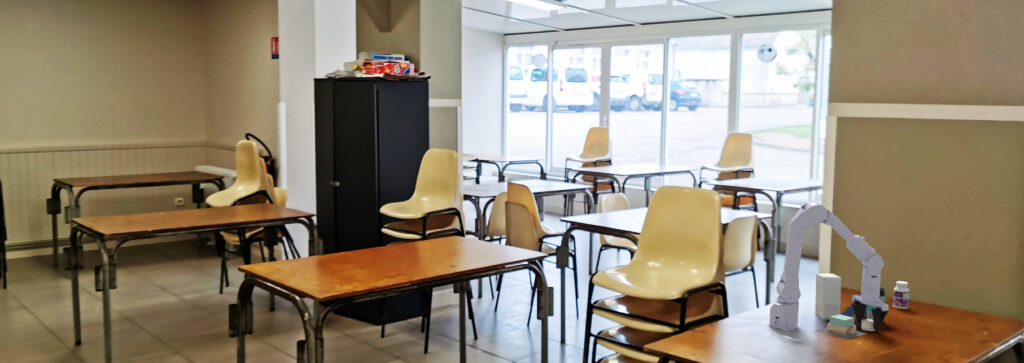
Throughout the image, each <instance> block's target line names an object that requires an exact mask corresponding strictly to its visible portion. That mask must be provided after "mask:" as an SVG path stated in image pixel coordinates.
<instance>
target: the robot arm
mask: <svg viewBox="0 0 1024 363" xmlns="http://www.w3.org/2000/svg"><path fill="white" fill-rule="evenodd" d="M821 223H822V224H824V225H828V226H830V227H831V228H832V229H833V230H834V231H835V232H836V233H837V234H838V235H840V237H842V239H843V240H845V247H846V248H847V249H848V250H849V251H850V252H851V253H852V254H853V255H854V256H855V257H856V258H857V259H858V261H860V264H862V265H863V266H862V274H861V275H862V276H861V289H860V290H861V292H860V295H857V294H855V295H851V301H852V302H851V303H850V306H851V307H852V310H853V312H854V315H855V319H856V324H857V325H861V324H862V319H864V315H865V310H866V307H867V305H869V306H872V307H875V308H876V309H871V311H872V315H873V328H874V330H875V331H878V330H881V327H882V324H883V322H884V321H885V318H886V317H887V315H888V314H889V306H890V304H887V303H886V302H885V303H883V302H881V300H880V299H879V295H880V287H881V278H882V276H881V275H882V274H881V272H882V269H883V268H884V267H885V262H884V259H883V257H882V256H881V254H879V253H877V252H876V248H875V247H871V245H869V243H868V242H867V241H866V240H867V239H866V238H865V236H861V235H860V234H853V233H852V231H850V230H849V228H848V227H846V225H845V224H844V223H843V221H841V219H840V218H839V217H838V216H837V215H836V214H834V213H833V212H832V211H830V210H829V209H827V207H825V206H824V205H823V204H820V203H818V202H816V201H812V200H811V201H808V202H806V203H804V204H802V205H801V206H800V207H799V210H797V212H796V213H795V214H794V216H793V217H791V219H790V220H789V224H788V232H787V233H788V234H787V240H786V246H785V247H786V248H785V255H784V264H783V271H782V273H781V275H780V278H779V281H778V283H777V284H776V288H775V290H776V292H777V294H778V296H777V298H776V301H775V303H774V304H772V305H771V307H770V309H769V310H770V311H769V324H767V326H768V327H769V326H770V327H771V328H776V329H779V330H783V331H790V330H794V329H798V328H803V327H804V325H800V324H799V308H800V306H799V305H800V298H801V296H802V295H801V293H802V292H801V290H800V278H799V273H800V266H801V259H802V251H803V244H804V243H803V242H804V236H805V230H807V229H809V228H811V227H812V226H813V225H817V224H818V225H819V224H821ZM883 320H884V321H883Z"/></svg>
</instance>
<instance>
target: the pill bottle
mask: <svg viewBox="0 0 1024 363" xmlns="http://www.w3.org/2000/svg"><path fill="white" fill-rule="evenodd" d="M908 286H909V283H908V281H903V280H902V281H901V280H897V281H896V282H895V287H894V288H893V297H892V298H893V299H892V307H893V308H895V309H901V310H907V309H909V303H910V288H908Z"/></svg>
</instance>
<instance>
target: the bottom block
mask: <svg viewBox="0 0 1024 363" xmlns="http://www.w3.org/2000/svg"><path fill="white" fill-rule="evenodd" d="M829 323H830V322H829ZM829 323H827V324H826V327H827V331H829V332H832V333H836V334H840V335H844V336H845V335H849V334H853V333H856V331H857V325H855V324H854V325H853V326H849V327H845V328H843V327H840V326H836V325H832V324H829Z"/></svg>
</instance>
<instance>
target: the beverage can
mask: <svg viewBox="0 0 1024 363" xmlns="http://www.w3.org/2000/svg"><path fill="white" fill-rule="evenodd" d="M879 299H880V300H881V302H883V303H885V304H886V299H887V293H886V292H885V288H884V287H881V286H880V295H879ZM871 309H876V308H875V307H872V306H869V305H867V307H866V310H865V315H864V319H870V320H873V315H872V311H871ZM883 322H885V319H884V320H883Z"/></svg>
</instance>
